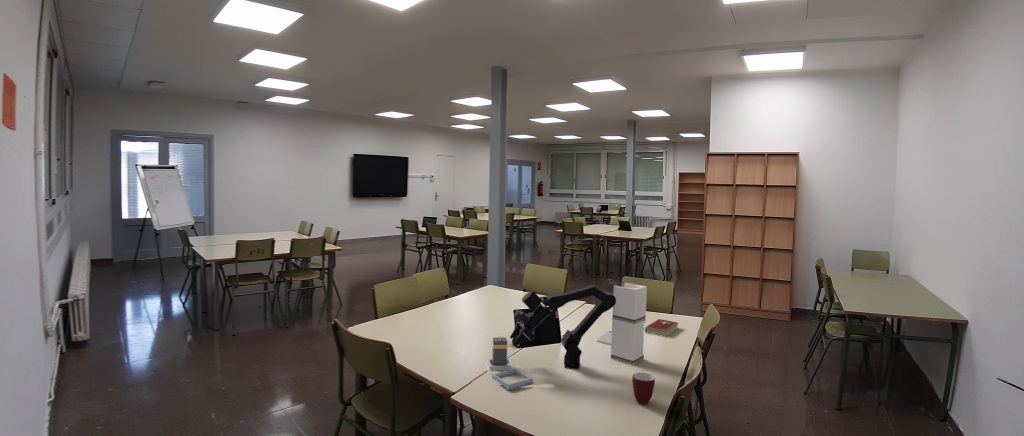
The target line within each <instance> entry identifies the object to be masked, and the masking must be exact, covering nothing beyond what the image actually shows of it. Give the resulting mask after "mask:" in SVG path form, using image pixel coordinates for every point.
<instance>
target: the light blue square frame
mask: <svg viewBox="0 0 1024 436" xmlns="http://www.w3.org/2000/svg"><path fill="white" fill-rule="evenodd" d="M513 374H516V375H518V376H519V377H521V378H522V379H521V380H517V381H514V382H510V383H508V382H507V381H505V379H502V378H501V377H507V376H509V375H513ZM491 379H492V380H494V381H496V382H497V383H498V384H499V386H500V387H502V388H503V389H505V390H506V391H508V392H509V391H512V390H516V389H517V390H518V389H521V388H525V387H528V386H530V385H532V384H531V383H533V377H532V376H530V375H528V374H526V373H524V372H522V371H521V370H518V369H517V368H514V369H512V370H503V371H500V372H495V373H493V374H491Z"/></svg>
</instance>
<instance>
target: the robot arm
mask: <svg viewBox="0 0 1024 436" xmlns="http://www.w3.org/2000/svg"><path fill="white" fill-rule="evenodd" d="M592 296H593V297H594V298H596V301H595V304H594V306H593V308H592V309H591V310H590V311H589V312H588V313H587V314H586V315H585V317H584V318H583V319H581V321H580V322H579V324H577V326H575V328H574V329H571V330H570V329H567V330H566V332H565V333H564V334H563V335H562V338H561V340H560V341H561V345H562V347H563V348H564V350H565V354H564V357H563V365H564V369H565V368H566V369H572V370H580V367H581V355H582V350H581V349H580V347H579V345H580V343H581V340H582V338H583V336H584V335H586V333H587V331H588V330H590V328H591V327H592V326H593V325H594V323H595V322H596V321H597V320H599V318H600V317H601V316H602V315H603V314H604V313H606V312H608V311H609V310H611V309H613V306H614V305H615V304H616V298H615V297H614V296H613V293H611V292H608V291H603V290H601V289H598V288H597V287H595V285H592V284H589V285H587V286H585V287H580V288H578V289H574V290H571V291H566V292H556V293H549V294H547V295H545V296H540V297H539V295H538V294H537V293H536V292H535V290H533V289H532V290H531V291H529V292H527V293H526V294H525V295H524V296H523V297H522V298H521V301H522V303H523V304H524V305H525V306H526V307H527V308H528V309H530V311H532V310H534V311H532V312H528V313H526V312H524V311H522V310H520V309H515V311H514V314H513V318H514V319H516V320H515V328H514V330H513V331H512V333H511V334H510V336H509V339H511V340H512V339H514V338H515V340H514V341H513V342H512V345H513V346H517V345H518V346H519V345H520V344H523V343H526V342H531V341H533V340H535V338H536V334H535V333H534V331H535V328H537V327H538V326H539V327H540V326H541V323H542V322H543V321H544V320H545V319H546V318H547V317H548V316H550V317H551V318H554V310H557V309H559V308H562V307H564V306H565V305H566V304H568V303H571V302H574V301H579V300H581V299H584V298H588V297H592Z"/></svg>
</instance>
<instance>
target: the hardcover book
mask: <svg viewBox="0 0 1024 436" xmlns="http://www.w3.org/2000/svg"><path fill="white" fill-rule="evenodd" d="M678 326H679V322H677V321H673V320H672V321H671V320H667V319H661V318H658V319H657V320H655V321H653V322H651V323H650V324H648V325H647V326H644V333H645V332H649V333H648V334H650V333H654V334H658V335H657V336H659V335H662V336H661V337H664V336H666V337H668V336H669V335H670V334H672V333H673V332H674V330H675V329H676V330H677V329H678ZM676 330H675V331H676ZM672 331H673V332H672ZM671 332H672V333H671ZM654 334H653V335H654ZM668 334H669V335H668Z"/></svg>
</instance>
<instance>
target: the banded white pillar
mask: <svg viewBox="0 0 1024 436" xmlns="http://www.w3.org/2000/svg"><path fill="white" fill-rule="evenodd" d="M623 284H624V285H623V286H619V285H613V293H612V295H613V296H614V297H615V298H616V304H615V305H614V306H613V307H612V318H611V319H612V323H611V324H612V325H611V331H612V343H611V345H610V359H611V360H614V361H617V360H618V362H620V361H621V363H623V362H625V363H624V364H627V363H628V364H627V365H630V364H631V365H630V366H634V365H636V364H638V363H640V362H641V360H642V361H643V359H645V355H644V337H645V336H644V335H645V323H646V319H647V318H646V317H647V316H646V315H647V314H646V313H647V296H648V295H647V293H648V292H647V291H648V286H646V285H641V284H636V283H635V284H634V283H630V282H624V283H623ZM639 361H640V362H639ZM637 362H638V363H637ZM635 363H636V364H635ZM633 364H634V365H633Z"/></svg>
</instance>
